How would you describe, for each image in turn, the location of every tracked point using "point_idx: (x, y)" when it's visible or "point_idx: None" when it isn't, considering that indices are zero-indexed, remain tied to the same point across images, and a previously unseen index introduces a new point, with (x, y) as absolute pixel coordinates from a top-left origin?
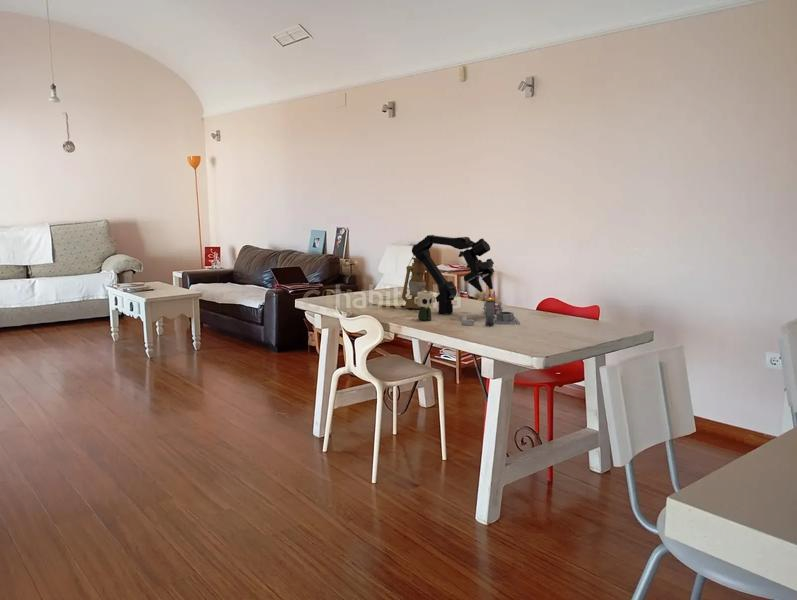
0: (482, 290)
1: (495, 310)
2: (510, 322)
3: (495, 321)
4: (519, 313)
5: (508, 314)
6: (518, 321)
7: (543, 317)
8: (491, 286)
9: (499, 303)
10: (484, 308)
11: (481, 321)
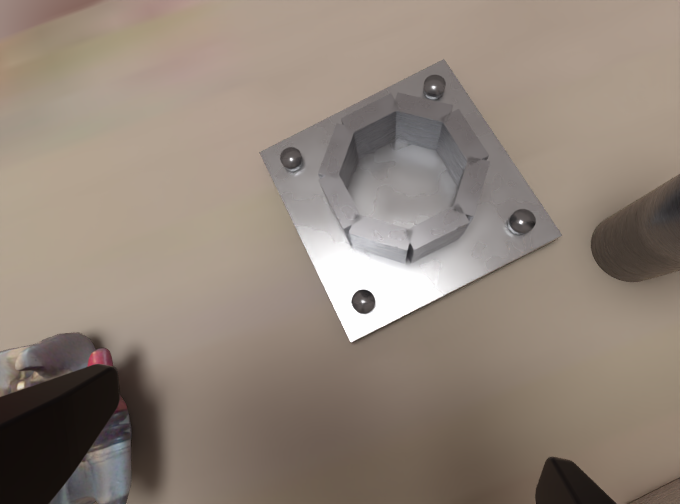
0: (564, 466)
1: None
2: (480, 117)
3: (533, 225)
4: (27, 218)
5: (456, 115)
6: (425, 75)
7: (121, 31)
8: (80, 397)
9: (23, 356)
10: (124, 496)
11: (503, 374)
